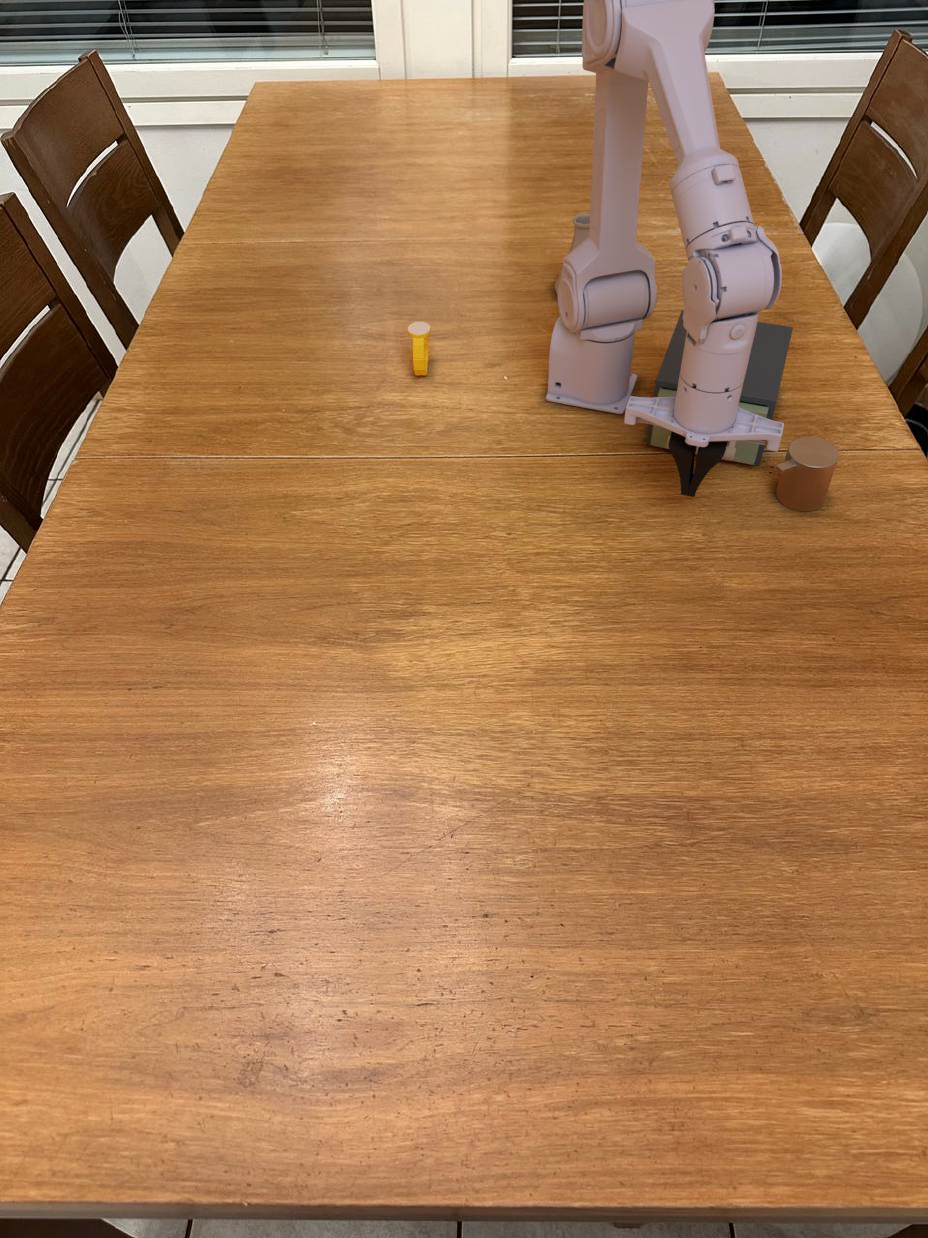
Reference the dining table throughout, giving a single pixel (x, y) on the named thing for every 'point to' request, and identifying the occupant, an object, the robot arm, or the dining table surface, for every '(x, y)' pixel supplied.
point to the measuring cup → (806, 473)
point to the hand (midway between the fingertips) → (689, 489)
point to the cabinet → (759, 374)
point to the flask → (577, 236)
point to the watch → (420, 346)
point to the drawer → (734, 449)
